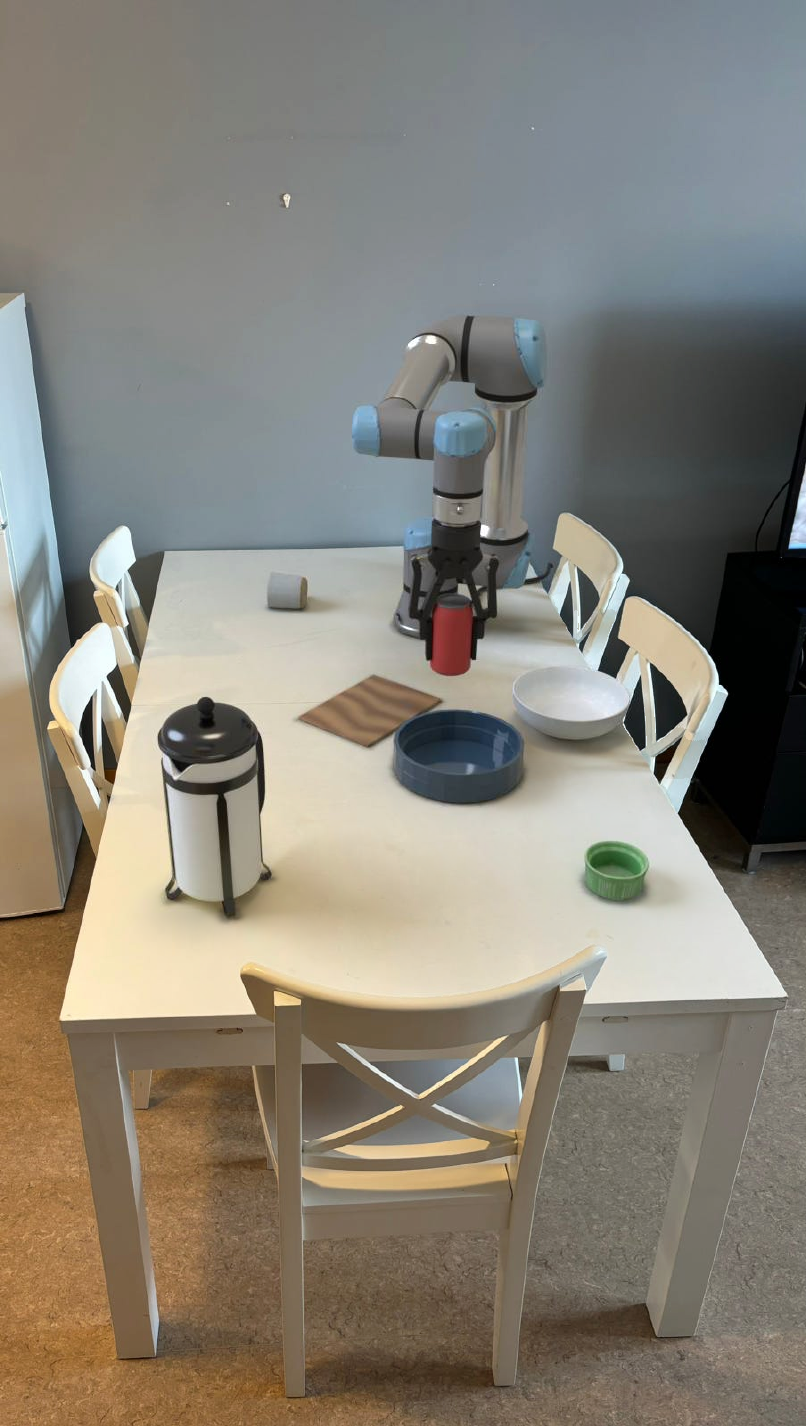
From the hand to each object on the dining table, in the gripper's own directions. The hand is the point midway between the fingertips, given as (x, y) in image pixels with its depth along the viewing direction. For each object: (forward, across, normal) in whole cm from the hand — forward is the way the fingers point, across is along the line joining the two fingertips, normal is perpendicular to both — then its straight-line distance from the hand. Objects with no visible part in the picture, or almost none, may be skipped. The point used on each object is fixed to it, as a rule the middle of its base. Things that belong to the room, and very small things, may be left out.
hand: (450, 656), depth 173 cm
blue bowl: (+19, +2, -3) cm, 20 cm away
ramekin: (+19, +20, -35) cm, 45 cm away
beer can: (+2, 0, 0) cm, 2 cm away
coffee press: (+19, -35, -32) cm, 51 cm away
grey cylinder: (+20, -29, +67) cm, 76 cm away
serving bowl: (+20, +23, +11) cm, 32 cm away
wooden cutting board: (+19, -12, +18) cm, 29 cm away
